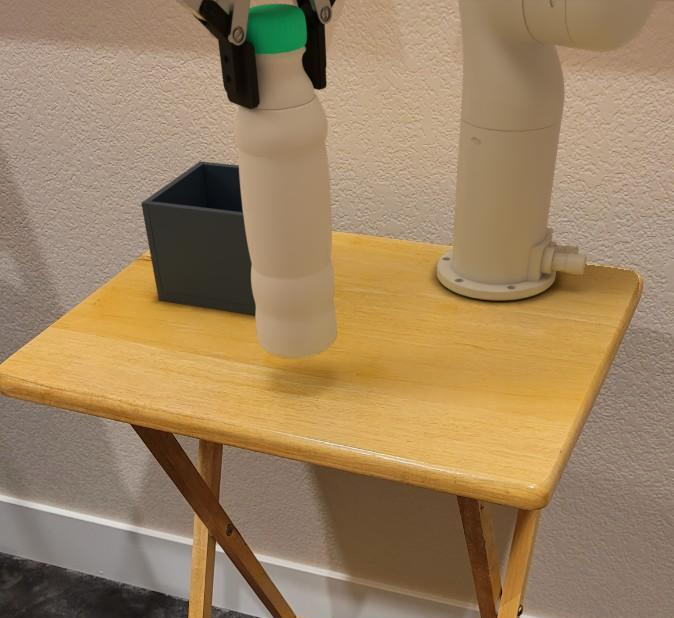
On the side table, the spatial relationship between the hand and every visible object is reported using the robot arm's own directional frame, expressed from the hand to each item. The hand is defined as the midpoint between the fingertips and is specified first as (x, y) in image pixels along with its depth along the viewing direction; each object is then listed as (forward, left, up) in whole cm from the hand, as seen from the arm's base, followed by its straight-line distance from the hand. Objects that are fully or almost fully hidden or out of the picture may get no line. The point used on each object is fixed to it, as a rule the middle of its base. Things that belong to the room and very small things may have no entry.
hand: (277, 92), depth 64 cm
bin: (+14, -17, -23) cm, 32 cm away
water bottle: (0, 0, -20) cm, 20 cm away
